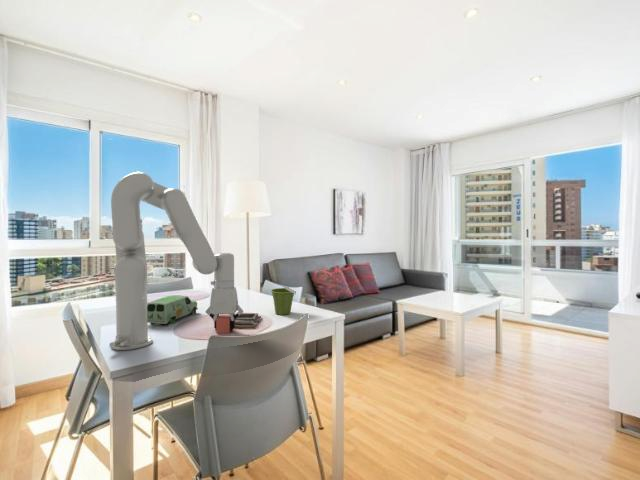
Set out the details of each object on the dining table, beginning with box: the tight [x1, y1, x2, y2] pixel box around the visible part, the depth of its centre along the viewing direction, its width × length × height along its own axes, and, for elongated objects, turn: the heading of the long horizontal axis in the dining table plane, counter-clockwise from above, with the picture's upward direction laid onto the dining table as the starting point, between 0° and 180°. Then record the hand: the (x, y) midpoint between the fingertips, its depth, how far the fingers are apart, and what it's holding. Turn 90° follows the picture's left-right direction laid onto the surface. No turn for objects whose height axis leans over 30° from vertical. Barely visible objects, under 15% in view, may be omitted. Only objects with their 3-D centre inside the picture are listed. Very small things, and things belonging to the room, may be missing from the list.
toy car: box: [147, 294, 199, 326], centre depth 150 cm, size 11×25×10 cm, turn 170°
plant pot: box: [270, 287, 295, 316], centre depth 160 cm, size 12×12×11 cm
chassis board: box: [235, 312, 262, 330], centre depth 143 cm, size 16×12×3 cm
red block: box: [215, 314, 232, 334], centre depth 131 cm, size 5×5×6 cm
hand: (224, 329), depth 131 cm, fingers closed on red block, 5 cm apart
